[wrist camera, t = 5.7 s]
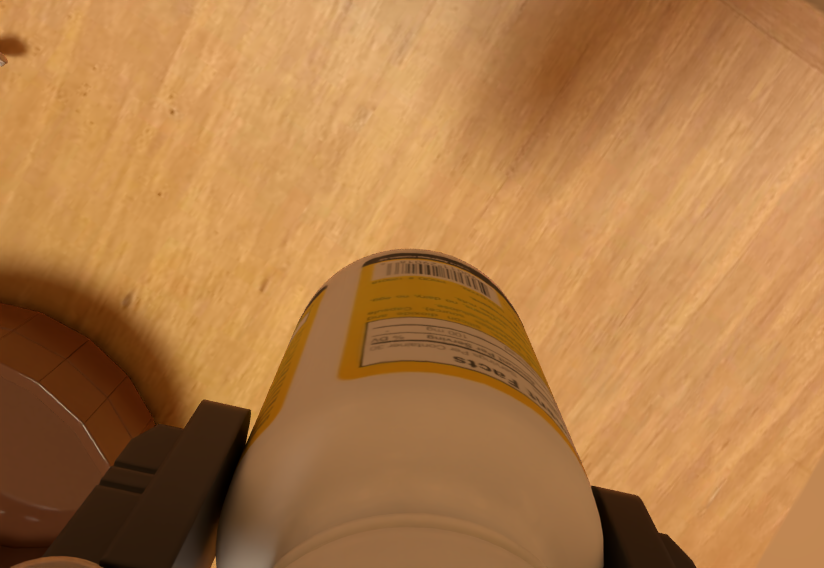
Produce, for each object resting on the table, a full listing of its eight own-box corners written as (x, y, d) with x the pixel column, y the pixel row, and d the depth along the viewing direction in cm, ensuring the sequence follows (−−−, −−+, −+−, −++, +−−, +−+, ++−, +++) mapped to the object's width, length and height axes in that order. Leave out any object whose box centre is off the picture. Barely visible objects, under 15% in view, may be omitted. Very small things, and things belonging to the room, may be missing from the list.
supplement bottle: (369, 487, 17) (308, 1001, 8) (253, 310, 16) (4, 682, 6) (564, 396, 16) (765, 852, 7) (461, 200, 15) (537, 440, 5)
